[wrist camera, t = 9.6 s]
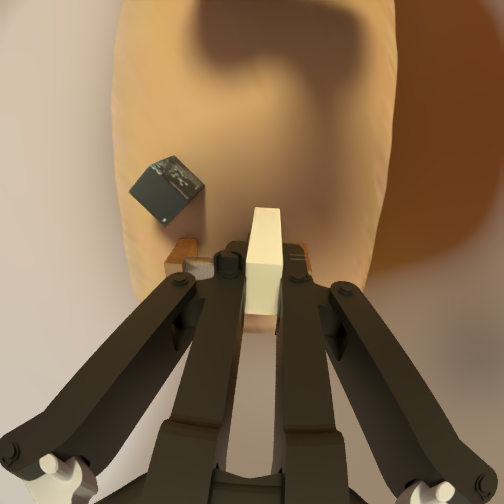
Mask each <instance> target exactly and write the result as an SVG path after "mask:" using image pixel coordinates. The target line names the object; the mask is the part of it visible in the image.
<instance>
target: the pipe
mask: <svg viewBox="0 0 504 504" xmlns="http://www.w3.org/2000/svg"><path fill="white" fill-rule="evenodd" d="M289 244H295V243H289ZM299 245H300V246H301V247H302V248H303V249H304V254H305V260H306V264H307V270H308V274H309V275H311V274H312V270H311V265H310V261H309V257H308V253H307V249H306V245H305V244H299ZM164 267H165V273H166V277H168V276H169V275H170V274H173V273H176V272H188V273H191V274H193V275H194V276H195V279H196V280H204V279H208V278H211V277H213V275H214V258H201V257H197V243H196V239H189V238H181V239H180V240H179V242H178V243H177V245H176V246H175V247H174V249H173V250H172V252H171V253H170V255H169V256H168V258H167V259H166V261H165V262H164Z"/></svg>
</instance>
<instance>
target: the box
mask: <svg viewBox="0 0 504 504" xmlns="http://www.w3.org/2000/svg"><path fill="white" fill-rule="evenodd" d="M204 186H205V185H204V184H203V183H202V182H201V181H200V180H199V179H198V178H197V177H196V176H195V175H194V174H193V173H192V172H191V171H190V170H189V169H187V167H185V166H184V165H183V164H182V163H181V161H179V160H178V159H177V158H176V157H175V156H171V157H168V158H166V159H164V160H161V161H159V162H156V163H154V164H152V165H150V166H149V167H148V168H147V169H146V171H145V172H144V173H143V174H142V176H141V177H140V178H139V179H138V180H137V182H136V183H135V184H134V185H133V187H132V188H131V189H130V190H129V194H131V195H132V196H133V197H134V198H135V199H136V200H137V201H138V202H139V203H140V204H141V205H143V206H144V207H145V208H146V209H147V210H148V211H149V212H150V213H151V214H152V215H153V216H154V217H155V218H156V219H157V220H158V221H159V222H160V223H161V224H162V225H163V226H164V227H166V226H167V225H168V224H169V223H170V222H171V221H172V220H173V219H174V218H175V217H176V216H177V215H178V214H179V213H180V212H181V210H182V209H183V208H184V207H185V206H186V205H187V204H188V203H189V202H190V201H191V200H192V199H193V198H194V197H195V196H196V195H197V194H198V193H199V192H200V191H201V190H202V189H203V188H204Z"/></svg>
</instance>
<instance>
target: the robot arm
mask: <svg viewBox="0 0 504 504" xmlns="http://www.w3.org/2000/svg"><path fill="white" fill-rule="evenodd" d="M213 258H214V275H213V277H211V278H208V279H204V280H196V279H195V276H194V275H193V274H191V273H188V272H176V273H173V274H170V275H169V276H168V277H166V278H165V279H164V280H163V281H162V282H161V283H160V284H159V285H158V286H157V287H156V288H155V289H154V290H153V291H152V293H151V294H150V295H149V296H148V297H147V298H146V299H145V300H144V301H143V302H142V303H141V304H140V305H139V306H138V307H137V308H136V309H135V310H134V311H133V312H132V313H131V314H130V315H129V317H127V318H126V319H125V321H124V322H123V323H122V324H121V325H120V326H119V327H118V328H117V329H116V330H115V331H114V332H113V333H112V334H111V335H110V336H109V338H108V339H107V340H106V341H105V342H104V343H103V344H102V345H101V346H100V347H99V348H98V350H97V351H96V352H95V353H94V354H93V355H92V356H91V357H90V358H89V359H88V361H87V362H86V363H85V364H84V365H83V366H82V367H81V368H80V370H79V371H78V372H77V373H76V374H75V375H74V376H73V377H72V379H71V380H70V381H69V382H68V383H67V384H66V386H65V387H64V388H63V389H62V390H61V391H60V392H59V394H58V395H57V396H56V397H55V398H54V400H53V401H52V402H51V403H50V404H49V406H48V407H47V408H46V409H45V411H44V412H42V413H40V414H38V415H37V416H35V417H34V418H32V419H30V420H29V421H27V422H25V423H24V424H22V425H20V426H19V427H17V428H15V429H14V430H12V431H10V432H9V433H7V434H5V435H4V436H3V437H2V438H1V439H0V463H1V465H2V466H3V467H4V468H5V469H6V470H8V471H9V472H11V473H12V474H14V475H16V476H17V477H19V478H21V479H22V480H23V481H24V482H25V484H26V486H27V488H28V490H29V492H30V494H31V495H32V497H33V499H34V501H35V502H36V504H88V503H89V500H90V499H91V497H92V496H93V495H95V494H97V492H98V486H97V481H96V476H97V475H99V474H100V473H101V472H102V471H103V470H104V469H105V468H106V467H107V466H108V465H109V464H110V462H111V461H112V460H113V458H114V457H115V456H116V455H117V453H118V452H119V450H120V449H121V447H122V446H123V444H124V443H125V441H126V440H127V438H128V437H129V435H130V434H131V432H132V431H133V429H134V428H135V426H136V425H137V423H138V422H139V420H140V418H141V417H142V416H143V414H144V413H145V411H146V410H147V408H148V406H149V405H150V403H151V402H152V401H153V399H154V398H155V396H156V395H157V393H158V392H159V390H160V389H161V387H162V386H163V384H164V383H165V381H166V379H167V378H168V377H169V375H170V373H171V372H172V371H173V369H174V368H175V366H176V365H177V363H178V362H179V360H180V359H181V357H182V355H183V354H184V353H185V351H186V350H187V348H188V347H189V345H190V344H191V342H192V341H193V342H192V344H191V348H190V351H189V354H188V358H187V361H186V364H185V368H184V372H183V375H182V378H181V381H180V385H179V388H178V392H177V395H176V399H175V402H174V406H173V409H172V413H171V416H170V418H169V419H167V420H164V422H163V423H162V424H161V427H160V430H159V432H158V436H157V439H156V443H155V447H154V451H153V454H152V458H151V461H150V465H149V469H148V472H147V473H145V474H143V475H141V476H139V477H137V478H136V479H134V480H133V481H131V482H130V483H128V484H127V485H125V486H123V487H122V488H120V489H118V490H117V491H115V492H113V493H112V494H110V495H108V496H107V497H105V498H103V499H101V500H100V501H98V502H96V503H94V504H368V503H367V502H365V501H364V500H363V499H362V498H361V497H360V496H359V495H358V494H357V493H356V492H355V491H354V490H352V489H351V488H349V487H348V475H347V463H346V453H345V443H344V438H343V436H342V433H341V432H339V431H337V430H336V426H335V420H334V411H333V402H332V394H331V386H330V379H329V372H328V365H327V358H326V352H327V354H328V356H329V358H330V361H331V362H332V365H333V367H334V369H335V371H336V373H337V375H338V378H339V380H340V382H341V384H342V386H343V388H344V391H345V393H346V395H347V397H348V399H349V402H350V404H351V406H352V408H353V410H354V413H355V415H356V417H357V419H358V422H359V424H360V426H361V428H362V431H363V433H364V435H365V437H366V440H367V442H368V444H369V446H370V449H371V451H372V453H373V456H374V458H375V460H376V463H377V465H378V467H379V470H380V472H381V474H382V476H383V478H384V480H385V482H386V484H387V486H388V487H389V488H390V490H391V492H392V493H393V494H394V496H395V497H396V498H397V500H396V502H395V504H485V503H487V502H488V501H490V500H491V498H492V497H493V496H494V494H495V492H496V489H497V484H498V479H497V475H496V473H495V471H494V470H493V469H492V468H491V467H490V466H489V465H487V464H486V463H485V462H484V461H483V460H482V459H481V458H480V457H479V456H478V455H476V454H475V453H474V452H473V451H472V450H471V449H470V448H469V447H467V446H466V445H465V444H464V443H463V442H462V441H461V440H459V438H458V436H457V434H456V432H455V431H454V429H453V427H452V425H451V424H450V422H449V420H448V418H447V417H446V415H445V413H444V412H443V410H442V408H441V407H440V405H439V404H438V402H437V400H436V399H435V397H434V395H433V394H432V392H431V391H430V389H429V388H428V386H427V384H426V383H425V381H424V380H423V378H422V377H421V375H420V374H419V372H418V370H417V369H416V367H415V366H414V365H413V363H412V361H411V360H410V358H409V357H408V356H407V354H406V353H405V351H404V350H403V348H402V347H401V345H400V344H399V342H398V341H397V339H396V338H395V337H394V335H393V334H392V332H391V331H390V330H389V328H388V327H387V325H386V324H385V323H384V321H383V320H382V318H381V317H380V316H379V314H378V313H377V312H376V310H375V309H374V308H373V306H372V305H371V304H370V302H369V301H368V300H367V298H366V297H365V296H364V294H363V293H362V292H361V290H360V289H359V288H358V287H357V286H356V285H354V284H352V283H350V282H346V281H338V282H334V283H333V284H332V285H331V288H327V287H323V286H320V285H318V284H316V283H314V282H313V278H312V276H311V275H309V274H308V270H307V264H306V260H305V254H304V249H303V248H302V247H301V246H300V245H299V244H284V243H282V237H281V221H280V209H275V208H259V207H255V212H254V218H253V224H252V230H251V235H250V241H249V242H241V241H232V242H230V243H229V244H228V245H227V247H226V250H222V251H219V252H217V253H216V254H215V255H214V256H213ZM244 312H245V313H246V314H260V315H277V313H278V315H277V323H276V331H275V335H276V390H275V423H274V449H273V463H272V469H271V475H268V476H263V477H257V478H250V479H249V478H244V477H240V476H237V475H234V474H231V473H228V472H226V456H227V447H228V440H229V433H230V425H231V417H232V410H233V402H234V395H235V387H236V379H237V372H238V364H239V357H240V349H241V341H242V334H243V326H244ZM325 350H326V351H325Z"/></svg>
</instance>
